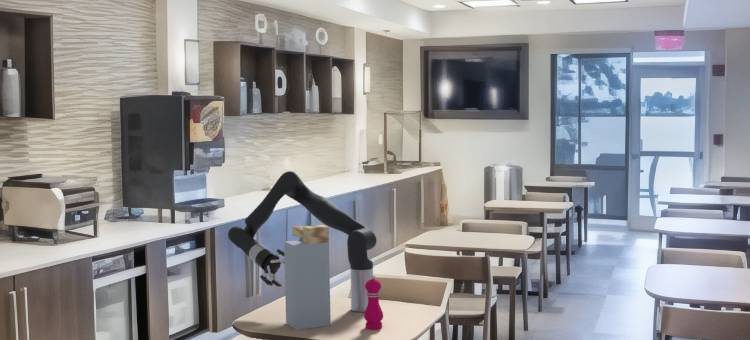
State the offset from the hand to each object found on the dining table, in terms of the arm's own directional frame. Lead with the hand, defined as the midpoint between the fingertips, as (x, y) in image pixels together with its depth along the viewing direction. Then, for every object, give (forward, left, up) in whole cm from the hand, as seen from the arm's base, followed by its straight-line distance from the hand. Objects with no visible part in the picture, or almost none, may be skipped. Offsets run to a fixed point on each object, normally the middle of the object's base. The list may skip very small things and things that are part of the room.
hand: (286, 276), depth 327 cm
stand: (-3, +16, -16) cm, 23 cm away
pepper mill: (-23, +33, -16) cm, 43 cm away
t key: (-6, +10, +16) cm, 20 cm away
